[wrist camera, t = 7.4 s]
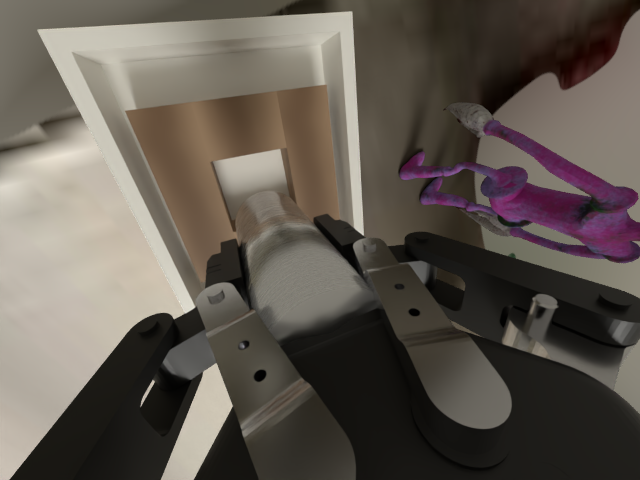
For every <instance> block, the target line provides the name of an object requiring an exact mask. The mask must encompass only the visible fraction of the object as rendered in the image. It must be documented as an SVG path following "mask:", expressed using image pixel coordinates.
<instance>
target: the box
mask: <svg viewBox="0 0 640 480" xmlns="http://www.w3.org/2000/svg"><path fill="white" fill-rule="evenodd" d="M38 32H39V34H40V36H41V38H42V40H43V42H44V44H45V46H46V48H47V50H48V52H49V54H50V55H51V57H52V59H53V61H54V63H55V65H56V67H57V69H58V71H59V73H60V75H61V77H62V79H63V80H64V82H65V84H66V86H67V88H68V90H69V92H70V94H71V96H72V97H73V100H74V102H75V104H76V105H77V107H78V109H79V111H80V113H81V115H82V117H83V119H84V121H85V123H86V125H87V127H88V129H89V130H90V132H91V134H92V136H93V138H94V140H95V142H96V144H97V146H98V148H99V150H100V152H101V153H102V155H103V157H104V159H105V161H106V163H107V165H108V167H109V169H110V171H111V173H112V175H113V177H114V178H115V180H116V182H117V184H118V186H119V188H120V190H121V192H122V194H123V196H124V198H125V200H126V201H127V203H128V205H129V207H130V209H131V211H132V213H133V215H134V217H135V219H136V221H137V223H138V225H139V226H140V228H141V230H142V232H143V234H144V236H145V238H146V240H147V242H148V244H149V246H150V248H151V250H152V251H153V253H154V255H155V257H156V259H157V261H158V263H159V265H160V267H161V269H162V271H163V273H164V274H165V276H166V278H167V280H168V282H169V284H170V286H171V288H172V290H173V292H174V294H175V296H176V298H177V299H178V301H179V303H180V305H181V307H182V309H183V311H184V313H187V312H189V311H191V310H192V309H194V308H195V307H196V306H197V305H196V298H197V296H198V295H199V294H200V293H201V292H202V291H203V290H204V289H205V282H202V283H201V281H200V279H199V277H198V274H197V272H196V270H195V268H194V265H193V263H192V261H191V259H190V256H189V254H188V252H187V250H186V247H185V245H184V243H183V241H182V238H181V236H180V234H179V232H178V229H177V227H176V225H175V223H174V220H173V218H172V216H171V214H170V211H169V209H168V207H167V205H166V202H165V200H164V198H163V196H162V193H161V191H160V189H159V187H158V184H157V182H156V180H155V178H154V175H153V173H152V171H151V169H150V166H149V164H148V162H147V160H146V157H145V155H144V153H143V151H142V148H141V146H140V144H139V142H138V139H137V137H136V135H135V133H134V130H133V128H132V126H131V124H130V121H129V119H128V117H127V114H126V112H125V111H127V110H134V109H142V108H150V107H158V106H165V105H173V104H181V103H188V102H196V101H204V100H211V99H219V98H227V97H234V96H242V95H250V94H257V93H265V92H273V91H280V90H288V89H296V88H303V87H311V86H319V85H327V93H328V103H329V113H330V123H331V133H332V144H333V154H334V164H335V174H336V184H337V194H338V204H339V214H340V220H342V221H345V222H347V223H349V224H350V225H351V226H352V227H353V228H355V230H357V231H358V232H359V233H361V234H362V235H363V236H364V230H363V210H362V191H361V172H360V153H359V134H358V114H357V95H356V76H355V57H354V37H353V18H352V12H336V13H319V14H301V15H284V16H267V17H251V18H250V17H249V18H232V19H215V20H197V21H180V22H164V23H146V24H128V25H110V26H94V27H77V28H58V29H42V30H38ZM213 164H214V167H215V170H216V173H217V176H218V179H219V182H220V185H221V188H222V191H223V194H224V198H225V201H226V204H227V207H228V210H229V213H230V216H231V219H232V220H235V219H236V215H237V212H238V210H239V208H240V206H241V205H242V203H243V202H244V201H245V200H246V199H248V198H249V197H250V196H252V195H254V194H256V193H259V192H263V191H276V192H280V193H283V194H285V195H287V196H288V197H290V196H289V191H288V186H287V181H286V176H285V171H284V166H283V160H282V155H281V150H280V149H277V150H271V151H266V152H261V153H255V154H250V155H245V156H239V157H234V158H229V159H223V160H218V161H213Z"/></svg>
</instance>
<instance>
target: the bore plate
mask: <svg viewBox="0 0 640 480" xmlns="http://www.w3.org/2000/svg"><path fill="white" fill-rule="evenodd" d="M125 112H126V114H127V117H128V119H129V121H130V124H131V126H132V128H133V130H134V133H135V135H136V137H137V139H138V142H139V144H140V146H141V148H142V151H143V153H144V155H145V157H146V160H147V162H148V164H149V166H150V169H151V171H152V173H153V175H154V178H155V180H156V182H157V184H158V187H159V189H160V191H161V193H162V196H163V198H164V200H165V202H166V205H167V207H168V209H169V211H170V214H171V216H172V218H173V220H174V223H175V225H176V227H177V229H178V232H179V234H180V236H181V238H182V241H183V243H184V245H185V247H186V250H187V252H188V254H189V256H190V259H191V261H192V263H193V265H194V268H195V270H196V272H197V274H198V277H199V279H200V281H201V283H202V282H205V281H206V269H207V261H208V260H209V258H210V257H211V256H212V255H214V254H217V253H221V244H220V243H221V242H224V241H227V240H231V239H235V238H236V239H237V242H238V238H237V232H236V225H235V220H236V219H235V220H232V219H231V216H230V213H229V210H228V207H227V204H226V201H225V198H224V194H223V191H222V188H221V185H220V182H219V179H218V176H217V173H216V170H215V167H214V164H213V161H218V160H223V159H229V158H234V157H239V156H245V155H250V154H255V153H261V152H266V151H271V150H277V149H280V150H281V155H282V160H283V166H284V171H285V176H286V181H287V186H288V191H289V196H290V198H291V199H292V200H293V201H294V202H295V203H296V204H297V205H298V207H299V208H300V209H301V210H302V211H303V212H304V213H305V214H306V216H307V217H308V218H309V219H310V220H311V221H312V222H313V218H314V217H316V216H320V215H324V214H329V215H330V216H331V217H332V218H333V219H334V220H340V214H339V204H338V194H337V184H336V174H335V164H334V154H333V144H332V133H331V123H330V113H329V103H328V93H327V85H319V86H311V87H303V88H296V89H288V90H280V91H273V92H265V93H257V94H250V95H242V96H234V97H227V98H219V99H211V100H204V101H196V102H188V103H181V104H173V105H165V106H158V107H150V108H142V109H134V110H127V111H125ZM313 223H314V222H313ZM238 245H239V244H238Z"/></svg>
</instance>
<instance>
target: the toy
mask: <svg viewBox="0 0 640 480" xmlns="http://www.w3.org/2000/svg"><path fill="white" fill-rule="evenodd" d="M445 109H448V110H449V111H450V112H452V113H453V114H454V115H455V116H456V117H457V120H458V122H459V123H460V124H462V125H463V126H465V127H466V128H467V129H469V130H470V131H471V132H472V133H474V134H475V135H476V136H477V137H482V136H485V135H493V136H496V137H499V138H501V139H504V140H506V141H507V142H509V143H511V144H513V145H515V146H517V147H518V148H520V149H521V150H523V151H525V152H527V153H528V154H530V155H531V156H533V157H534V158H535V159H536V160H537V161H538V162H539V163H540V164H542V165H543V166H544V167H545V168H546V169H547V170H548V171H549V172H550V173H552V174H554V175H555V176H557V177H559V178H560V179H562V180H564V181H566V182H567V183H569V184H571V185H573V186H575V187H576V188H578V189H580V190H582V191H584V192H585V193H587V194H589V195H590V196H591V197H588V196H582V195H577V194H571V193H566V192H561V191H556V190H551V189H547V188H541V187H538V186H535V185H532V184H530V183H527V182H526V181H527V179H528V174H527V172H526V170H524V169H523V168H520V167H516V166H511V167H504V168H501V169H498V170H496V169H493V168H490V167H487V166H484V165H481V164H477V163H473V162H461V163H458V164H456V165H455V167H454V168H451V167H449V166H448V167H440V166H421V165H422V162H423V160H424V157H425V153H424V152H423V151H422V152H419V153H417V154H415V155H414V156H413V157H412V158H411V159H410V160H409V161H408V163H406V164H405V165H404V166H403V167H402V168H401V171H400V178H401V179H403V180H409V179H413V178H429V177H437V176H438V178H436V179H435V180H434V181H432V182H431V183H430V184H429V185H428V186H427V188H426V189H425V190H424V191H423V193H422V195H421V199H420V202H421V203H422V204H424V205H428V204H441V205H449V206H455V207H456V206H457V207H456V208H458V207H463V208H465V209H466V210H467V211H474V212H476V213H479V214H481V215H483V216H484V217H482V216H478V215H474V214H471V213H469V212H466V211H464V210H462V209H460V208H458V209H459V210H461V211H462V212H464V213H465V214H467V215H468V216H469V217H470V218H472V219H473V220H474V221H476V222H477V223H479V224H480V225H482V226H483V227H485V228H486V229H488V230H489V231H491V232H493V233H495V234H497V235H500V236H511V235H512V236H514V237H520V238H522V239H525V240H528V241H530V242H533V243H535V244H538V245H541V246H544V247H547V248H550V249H553V250H557V251H561V252H564V253H567V254H571V255H575V256H581V257H588V258H596V259H608V260H609V261H612V262H616V263H628V262H632V261H634V260H636V259H638V258H639V257H640V247H639V246H638V245H637V244H636V243H634V242H632V241H640V223H639V222H636V221H634V220H632V219H631V218H630V216H629V215H628V213H627V209H629V208H630V207H632V206H633V205H634V204H635V203H636V201H637V200H638V193H636V192H635V191H634V190H633V189H630V188H627V187H615V186H613V185H611V184H609V183H607V182H606V181H604V180H602V179H601V178H599V177H597V176H595V175H593V174H592V173H590V172H587V171H586V170H584V169H582V168H580V167H578V166H577V165H575V164H573V163H571V162H569V161H568V160H566V159H564V158H562V157H561V156H559V155H557V154H556V153H554V152H552V151H551V150H549V149H547V148H545V147H544V146H542V145H540V144H539V143H537V142H535V141H534V140H532V139H530V138H528V137H527V136H525V135H523V134H521V133H519V132H516V131H514V130H512V129H510V128H507V127H505V126H503V125H501V124H500V122H499V121H496V120H494V119H493V117H492V115H491V113H490V112H489V111H488V110H487V109H485V108H484V107H483V106H481V105H478V104H473V103H453V104H450V105H449V106H447V107H446V108H445ZM445 109H444V110H445ZM465 168H466V169H470V170H472V171H475V172H478V173H481V174H483V175H486V176H487V177H486V178H485V179H484V181H483V182H482V184H481V192H482V194H483V195H484V196H487V197H489V201H490V204H491V207H492V208H491V207H487V206H484V205H481V204H475V203H473V202H468V201H467V200H466V199H464V198H462V197H459V196H457V195H452V194H446V193H440V192H437V191H438V190H439V188H440V186H441V184H442V178H441V177H439V176H442V175H444V176H450V175H453V174H455V173H458V172H460V171H461V170H462V169H465ZM533 222H534V223H537V224H540V225H543V226H546V227H549V228H551V229H554V230H556V231H559V232H561V233H564V234H566V235H569V236H571V237H574V238H576V239H578V240H580V241H581V242H582V243H583V244H585V245H586V246H581V245H567V244H563V243H558V242H554V241H551V240H548V239H545V238H542V237H539V236H536V235H534V234H531V233H529V232H527V231H524V230H523V229H521V228H520V227H524V226H527V225H529V224H531V223H533Z"/></svg>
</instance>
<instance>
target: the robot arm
mask: <svg viewBox="0 0 640 480" xmlns="http://www.w3.org/2000/svg"><path fill="white" fill-rule="evenodd" d="M313 222H314V224H315V226H316V227H317V228H318V229H319V230H320V231H321V232H322V233H323V235H324V236H325V237H326V238H327V239H328V240H329V241H330V242H331V243H332V245H333V246H334V247H335V248H336V249H337V250H338V251H339V252H340V253H341V255H342V256H343V257H344V258H345V259H346V260H347V261H348V262H349V264H350V265H351V266H352V267H353V268H354V269H355V270H356V271H357V272H358V274H359V275H360V276H361V277H362V278H363V279H364V280H365V282H366V283H367V284H368V286H369V287H370V289H371V291H372V292H373V296H374V301H375V303H376V305H377V307H378V308H376V309H374V310H371V311H369V312H366V313H364V314H361V315H358V316H356V317H354V318H353V319H351V320H350V321H348V322H347V323H345V324H344V325H342V326H341V327H340V328H338V329H337V330H335V331H334V332H332V333H329V334H324V335H318V336H312V337H306V338H300V339H297V340H294V341H292V342H289V343H286V344H284V345H281V346H280V345H279V344H278V343H277V341H276V340H275V338H274V337H273V335H272V334H271V333H270V331H269V330H268V328H267V327H266V325H265V324H264V323H263V321H262V320H261V318H260V317H259V315H258V314H257V313H256V311H255V310H254V309H251V310H250V309H249V306H248V300H247V291H246V285H245V279H244V273H243V267H242V261H241V255H240V249H239V245H238V242H237V239H236V238H235V239H231V240H227V241H224V242H221V243H220V244H221V253H217V254H214V255H212V256H211V257H210V258H209V260H208V261H207V269H206V281H205V289H204V290H203V291H202V292H201V293H200V294H199V295H198V296H197V298H196V305H197V306H196V307H195V308H194V309H192V310H191V311H189V312H187V313H185V314H184V315H182V316H180V317H178V318H176V319H173V317H172V316H171V315H170V314H168V313H159V314H155V315H152V316H149V317H147V318H145V319H143V320H142V321H140V322H139V323H137V324H136V325H135V326H133V327H132V328H131V329H130V331H129V332H128V333H127V334H126V335H125V337H124V338H123V339H122V340H121V342H120V343H119V344H118V345H117V347H116V348H115V349H114V350H113V352H112V353H111V354H110V355H109V357H108V358H107V359H106V360H105V362H104V363H103V364H102V365H101V367H100V368H99V369H98V370H97V372H96V373H95V374H94V375H93V376H92V378H91V379H90V380H89V381H88V383H87V384H86V385H85V386H84V388H83V389H82V390H81V391H80V393H79V394H78V395H77V396H76V398H75V399H74V400H73V401H72V403H71V404H70V405H69V406H68V408H67V409H66V410H65V411H64V413H63V414H62V415H61V416H60V418H59V419H58V420H57V421H56V423H55V424H54V425H53V426H52V428H51V429H50V430H49V431H48V433H47V434H46V435H45V436H44V437H43V439H42V440H41V441H40V442H39V444H38V445H37V446H36V447H35V449H34V450H33V451H32V452H31V454H30V455H29V456H28V457H27V459H26V460H25V461H24V462H23V464H22V465H21V466H20V467H19V469H18V470H17V471H16V472H15V474H14V475H13V476H12V477H11V479H10V480H161V478H162V475H163V473H164V470H165V468H166V465H167V463H168V460H169V458H170V456H171V453H172V451H173V448H174V446H175V443H176V441H177V438H178V436H179V433H180V431H181V428H182V426H183V423H184V421H185V418H186V416H187V413H188V411H189V408H190V406H191V404H192V401H193V399H194V396H195V394H196V391H197V389H198V386H199V384H200V381H201V379H202V375H203V371H205V370H206V369H208V368H209V367H211V366H212V365H214V364H215V363H217V365H218V368H219V370H220V373H221V376H222V378H223V381H224V383H225V386H226V389H227V391H228V394H229V397H230V399H231V402H232V405H233V407H232V409H231V411H230V413H229V415H228V417H227V418H226V420H225V422H224V424H223V426H222V428H221V430H220V432H219V433H218V435H217V437H216V439H215V441H214V443H213V445H212V447H211V448H210V450H209V452H208V454H207V456H206V458H205V460H204V462H203V463H202V465H201V467H200V469H199V471H198V473H197V475H196V477H195V478H194V480H640V414H639V413H638V412H637V411H636V410H635V409H634V408H633V407H632V406H631V405H630V404H629V403H628V402H627V401H625V400H624V399H623V398H622V397H621V396H620V395H618V394H617V393H616V392H615V391H613V390H614V386H615V383H616V379H617V375H618V372H619V368H620V367H621V365H622V364H623V362H624V360H625V359H626V358H627V356H628V355H629V354H630V352H631V350H632V349H633V348H634V346H635V345H636V343H637V342H638V340H639V339H640V299H639V298H638V297H636V296H634V295H632V294H629V293H627V292H624V291H621V290H618V289H615V288H612V287H608V286H605V285H602V284H599V283H595V282H592V281H588V280H585V279H582V278H578V277H575V276H572V275H569V274H565V273H562V272H559V271H555V270H552V269H548V268H545V267H542V266H539V265H535V264H531V263H529V262H525V261H522V260H519V259H515V258H512V257H509V256H505V255H502V254H499V253H495V252H492V251H489V250H485V249H482V248H479V247H475V246H472V245H469V244H465V243H462V242H459V241H455V240H452V239H449V238H445V237H442V236H439V235H435V234H432V233H428V232H414V233H410V234H408V235H407V236H406V237H405V244H404V245H396V246H387V245H386V243H385V242H384V241H383V240H381V239H378V238H366V237H364V236H363V235H362V234H361V233H359V232H358V231H357V230H355V228H353V227H352V226H351V225H350V224H349V223H347V222H345V221H342V220H334V219H333V218H332V217H331V216H330V215H329V214H324V215H320V216H316V217H314V218H313ZM437 267H438V268H441V269H443V270H446V271H448V272H451V273H454V274H456V275H458V276H460V277H461V278H462V279H463V280H464V282H465V285H466V286H465V291H463V290H461V289H459V288H457V287H454V286H452V285H450V284H447V283H445V282H443V281H440V280H438V279H436V276H437ZM449 319H450V320H452V321H454V322H456V323H458V324H459V325H461V326H463V327H465V328H467V329H469V330H471V331H473V332H474V333H476V334H478V335H480V336H482V337H480V336H477V335H474V334H471V333H467V332H464V331H461V330H458V329H456V328H455V327H454V325H453V324H452V323H451V321H450V320H449ZM483 337H484V338H483ZM152 380H154V381H155V383H154V385H153V387H152V388H151V390H150V392H149V394H148V395H147V397H146V399H145V401H144V402H143V404H142V406H141V401H142V398H143V396H144V394H145V392H146V390H147V388H148V387H149V385H150V383H151V382H152ZM140 406H141V408H140Z"/></svg>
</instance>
